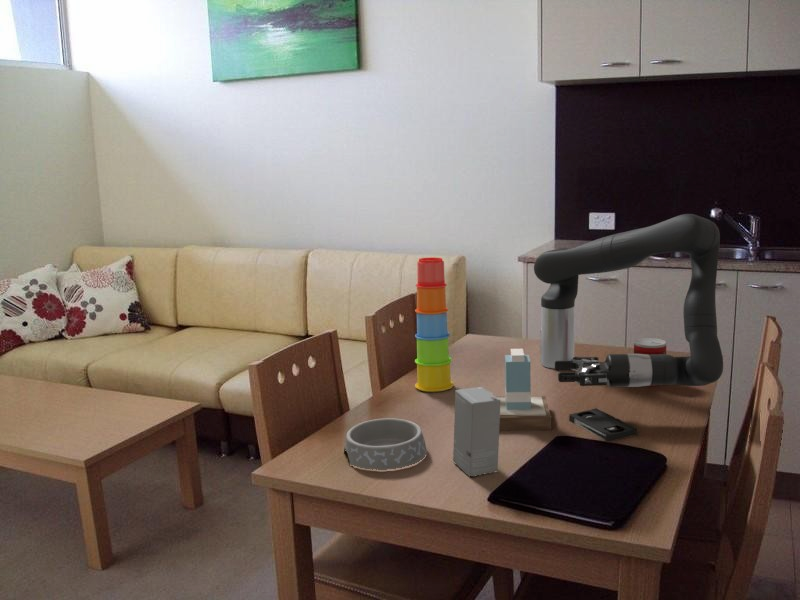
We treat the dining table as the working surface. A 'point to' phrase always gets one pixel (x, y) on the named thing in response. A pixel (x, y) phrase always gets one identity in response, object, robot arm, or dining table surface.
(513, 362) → the carton
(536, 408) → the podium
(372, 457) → the dog bowl
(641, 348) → the canned food
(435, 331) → the stacking cups
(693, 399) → the dining table surface
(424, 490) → the dining table surface
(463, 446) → the skincare box
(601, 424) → the vhs tape
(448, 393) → the dining table surface
